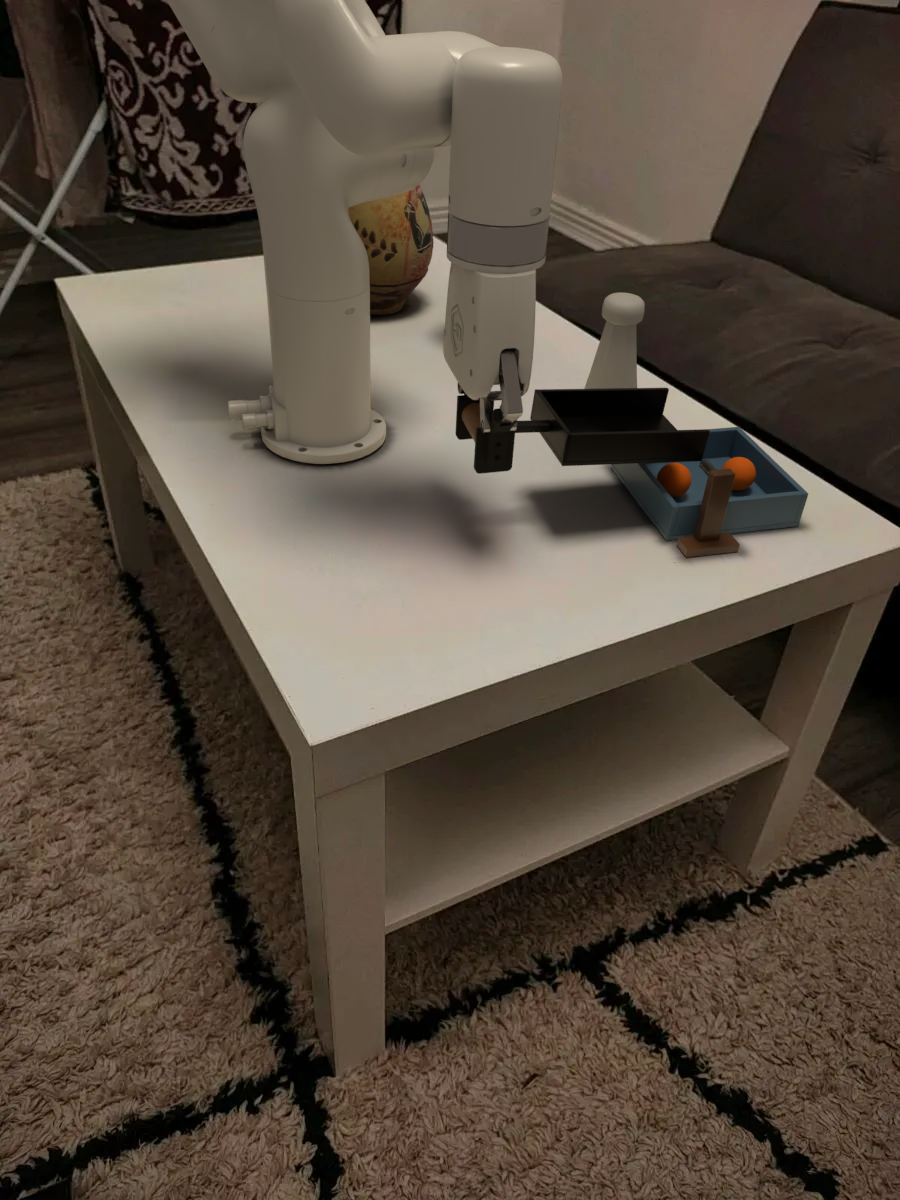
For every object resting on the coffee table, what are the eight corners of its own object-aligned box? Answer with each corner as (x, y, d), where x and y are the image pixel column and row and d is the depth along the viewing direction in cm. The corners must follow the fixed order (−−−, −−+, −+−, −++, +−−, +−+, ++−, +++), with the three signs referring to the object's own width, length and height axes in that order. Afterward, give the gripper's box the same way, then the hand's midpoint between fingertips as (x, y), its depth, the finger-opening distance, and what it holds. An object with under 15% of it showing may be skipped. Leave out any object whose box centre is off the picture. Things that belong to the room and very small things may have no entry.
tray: (666, 540, 85) (673, 507, 83) (611, 468, 95) (616, 436, 93) (798, 526, 88) (808, 493, 86) (731, 457, 98) (739, 426, 96)
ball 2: (754, 460, 89) (767, 482, 91) (738, 444, 91) (750, 466, 93) (725, 481, 89) (738, 503, 91) (709, 464, 92) (722, 486, 94)
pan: (480, 469, 79) (485, 437, 77) (454, 420, 85) (457, 390, 84) (701, 461, 84) (710, 431, 82) (660, 416, 90) (667, 387, 89)
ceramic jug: (429, 328, 123) (438, 62, 105) (308, 322, 122) (296, 54, 104) (433, 282, 136) (441, 40, 118) (324, 277, 136) (315, 33, 118)
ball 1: (702, 489, 89) (673, 509, 90) (687, 472, 92) (659, 492, 92) (688, 466, 87) (659, 487, 88) (674, 450, 90) (645, 470, 90)
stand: (686, 557, 83) (703, 483, 79) (606, 454, 98) (617, 386, 93) (738, 551, 84) (758, 478, 80) (651, 450, 99) (664, 383, 94)
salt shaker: (632, 429, 102) (652, 309, 94) (578, 422, 103) (594, 303, 95) (634, 405, 107) (654, 290, 99) (583, 399, 108) (599, 284, 100)
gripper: (422, 208, 78) (418, 413, 89) (479, 278, 65) (466, 509, 76) (511, 205, 79) (496, 407, 90) (584, 273, 66) (556, 500, 77)
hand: (482, 451), depth 83 cm, fingers closed on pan, 5 cm apart
